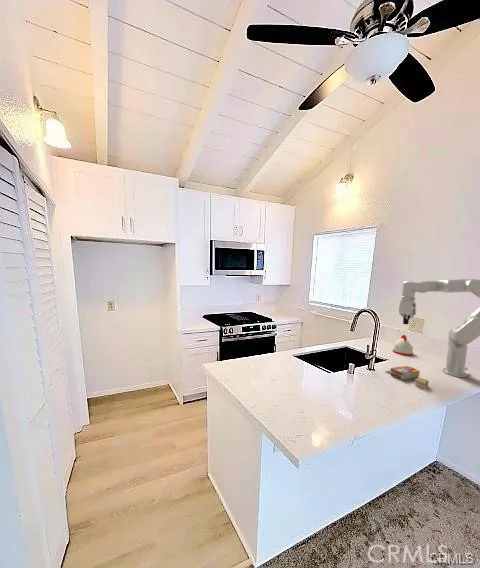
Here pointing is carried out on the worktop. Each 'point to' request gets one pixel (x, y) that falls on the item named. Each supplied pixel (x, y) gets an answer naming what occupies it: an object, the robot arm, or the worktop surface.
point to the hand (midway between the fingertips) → (405, 324)
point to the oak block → (421, 382)
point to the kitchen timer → (403, 347)
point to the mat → (404, 379)
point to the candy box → (404, 372)
